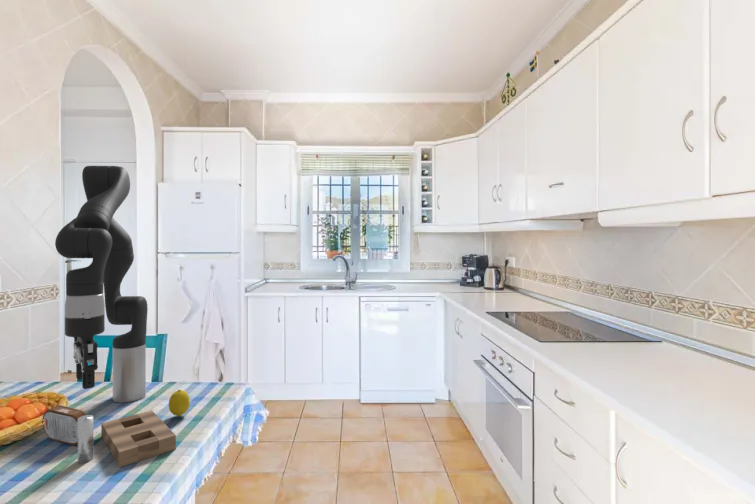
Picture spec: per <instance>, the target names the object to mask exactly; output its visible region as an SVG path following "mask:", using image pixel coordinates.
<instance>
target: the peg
mask: <svg viewBox="0 0 755 504" xmlns="http://www.w3.org/2000/svg"><path fill="white" fill-rule="evenodd" d="M92 460H94V415H93V414H87V415H85V416H81V417H79V418H78V445H77V463H78V464H86V463H89V462H91V461H92Z"/></svg>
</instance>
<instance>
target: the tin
mask: <svg viewBox="0 0 755 504" xmlns="http://www.w3.org/2000/svg"><path fill="white" fill-rule="evenodd" d="M85 415H88V414H87V413H86V412H85V411H84V410H82V409H79V408H78V409H77V408H73V407H70V406H64V405H61V404H60V405H56V406H54V407H51V408H49V409H47V410H45V412H44V413H43V414H42V420H43V419H44V422H45V423H44V425H43V424H42V427H43V431H44V433H45V434H46V436H47V438H49V439H51V440H53V441H54V442H55V441H56V442H60V443H63V444H67V445H71V446H78V418H79V417H81V416H85Z"/></svg>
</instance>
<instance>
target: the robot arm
mask: <svg viewBox="0 0 755 504" xmlns="http://www.w3.org/2000/svg"><path fill="white" fill-rule="evenodd" d="M81 176H82V177H81V178H82V186H83V189H84V194H85V197H86V202H85V203H83V205H82V206H81V207H80V209H79V211H78V213H77V214H76V215H77V216H76V217H75V218H73V219H72V220H70V222H68V223H66V225H64V226H63V227H62V228H61V229H60V230H59V231H58V234H57V235H56V238H55V243H54V246H55V249H56V251H57V253H58V254H59V256H61V257H63V258H66V259H92V261H91V263H90V264H89V265H88V266H85V267H79V268H73V269H71V270H69V271H67V273H66V274H65V275H66V276H65V303H64V335H65V336H66V337H67V338H68V337H69V338H73V345H72V347H73V359H74V362H75V368H76V369H75V376H76V377H75V378H76V379H77V380H81V384H82V385H81V387H82V389H84V390H87V389H91V388H94V387H95V383H96V382H95V381H96V379H95V378H96V377H95V371H96V370H98V368H99V365H98V346H99V345H98V343H97V341H95V339H94V336H95V335H100V334H102V333H104V332H105V319H106V318H105V317H107V321H108V323H109V324H111V325H113V326H127V325H128V326H129V325H130V326H131V329H130V330H128V332H126V333H122V334H119V335H117V336H115V337H114V338H113V339H112V401H113V402H114V403H130V402H136V401H139V400H141V399H143V398H144V397H146V394H147V391H146V386H147V385H146V384H147V382H146V381H147V378H146V377H147V376H146V374H147V373H146V371H147V368H146V367H147V366H146V363H147V361H146V359H147V357H146V355H147V353H146V351H147V350H146V349H147V348H146V346H147V345H146V344H147V343H146V342H147V341H146V340H147V327H148V326H147V325H148V321H147V320H148V311H149V310H148V301H147V299H146V297H144V296H139V295H134V296H133V295H132V296H131V295H130V296H127V295H126V296H125V295H124V296H122V295H121V286H122V285H121V284H122V282H123V279H124V278H125V276H126V275H127V273H128V271H129V270H130V268H131V267H132V264H133V263H134V258H135V255H134V248H133V242H132V238H131V236H130V234H129V233H128V232H127V230H125V228H124V227H123V226H122V225H121V224H120V223H118V221H117V220H116V219H115V218H114V215H115V213H116V211H117V210H118V209H119V208H120V207H121V205H122V204H123V203H124V201H125V200H126V199H127V197H128V195H129V193H130V191H131V180H130V175H129V173H128V171H127V169H126V168H124V167H123V166H118V165H87V166H85V167H84V168H83V169H82V174H81ZM105 314H106V316H105ZM89 363H91V364H89Z"/></svg>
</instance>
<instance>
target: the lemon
mask: <svg viewBox="0 0 755 504" xmlns="http://www.w3.org/2000/svg"><path fill="white" fill-rule="evenodd" d="M190 403H191V401H190V397H189V394H188V392H187V391H185V390H182V389H177V391H174V392H173V393H172V394H171V395H170V397H169V401H168V410H169V412H170V413H171V414H172V415H174V416H177V417H178V418H180V417H181V416H183V415H184V414H185V413H187V411H188V410H189V408H190Z"/></svg>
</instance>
